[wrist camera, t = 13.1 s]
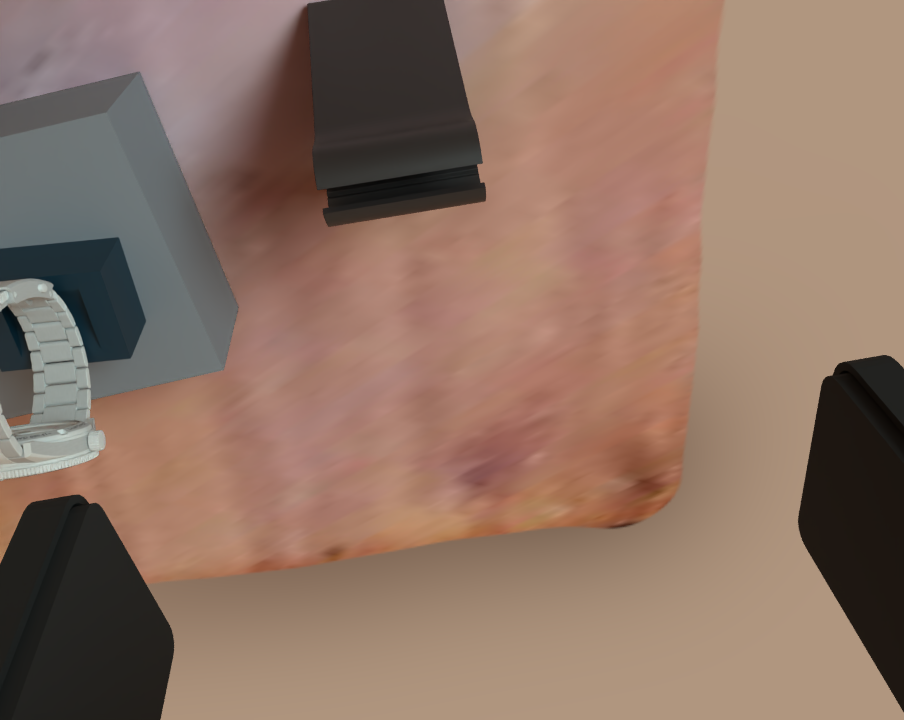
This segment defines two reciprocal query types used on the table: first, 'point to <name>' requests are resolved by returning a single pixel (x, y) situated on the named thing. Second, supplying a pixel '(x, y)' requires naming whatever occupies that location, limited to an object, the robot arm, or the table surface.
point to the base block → (115, 226)
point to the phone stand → (389, 110)
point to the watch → (62, 344)
